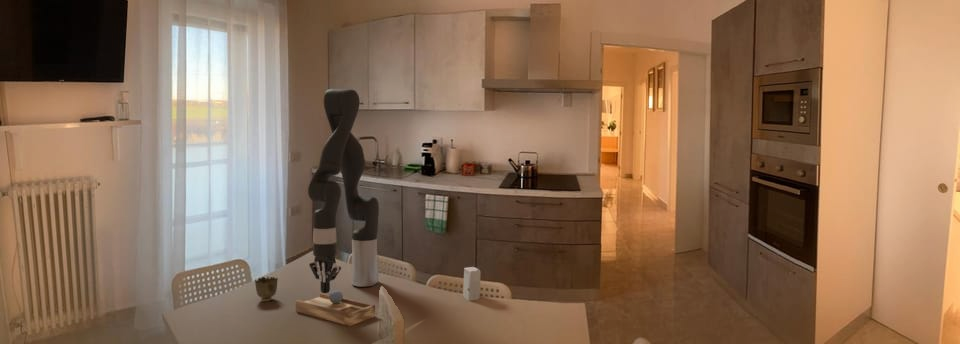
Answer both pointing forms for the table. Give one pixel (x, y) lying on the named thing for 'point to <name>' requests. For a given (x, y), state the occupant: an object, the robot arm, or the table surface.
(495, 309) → the table surface
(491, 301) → the table surface
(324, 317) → the tray
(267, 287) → the cup
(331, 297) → the ball
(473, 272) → the skincare box
